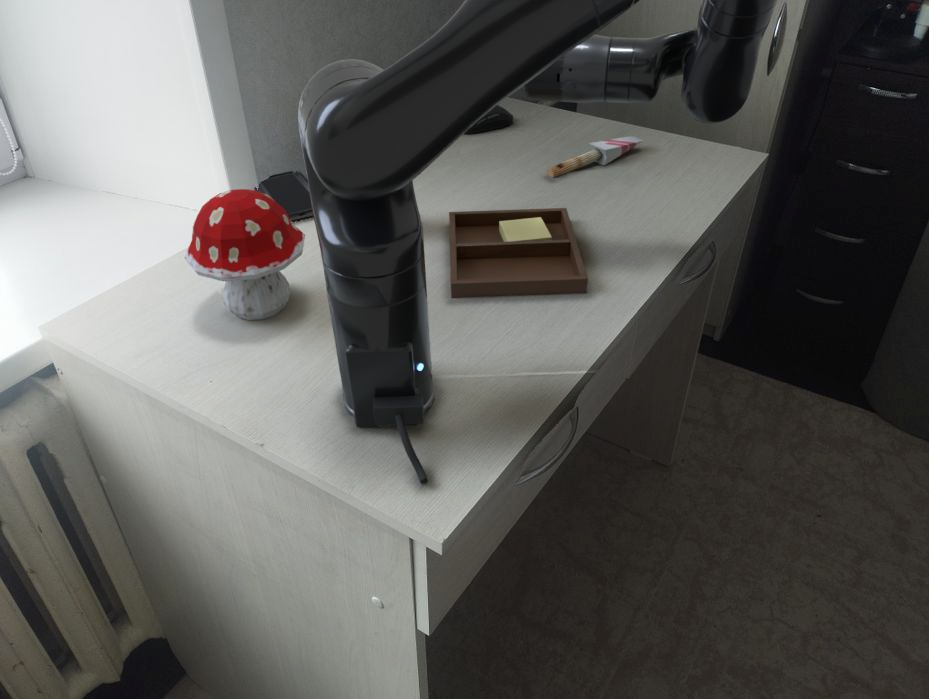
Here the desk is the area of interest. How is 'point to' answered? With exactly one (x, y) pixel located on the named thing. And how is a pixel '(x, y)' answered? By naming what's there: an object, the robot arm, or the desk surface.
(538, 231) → the note pad
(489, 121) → the gaming mouse
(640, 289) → the desk surface
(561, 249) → the divider
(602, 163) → the wrapped churro
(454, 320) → the desk surface
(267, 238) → the decorative mushroom
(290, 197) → the phone
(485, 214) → the tray
